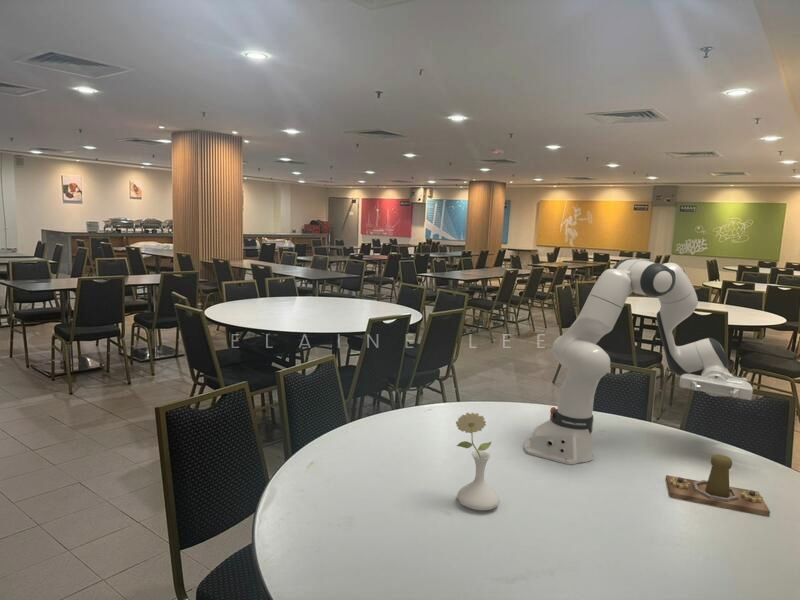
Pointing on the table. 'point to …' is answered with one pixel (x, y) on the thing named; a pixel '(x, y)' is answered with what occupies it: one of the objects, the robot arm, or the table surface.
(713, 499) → the gear board
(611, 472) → the table surface
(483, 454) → the flower in vase
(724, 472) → the cork
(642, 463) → the table surface
